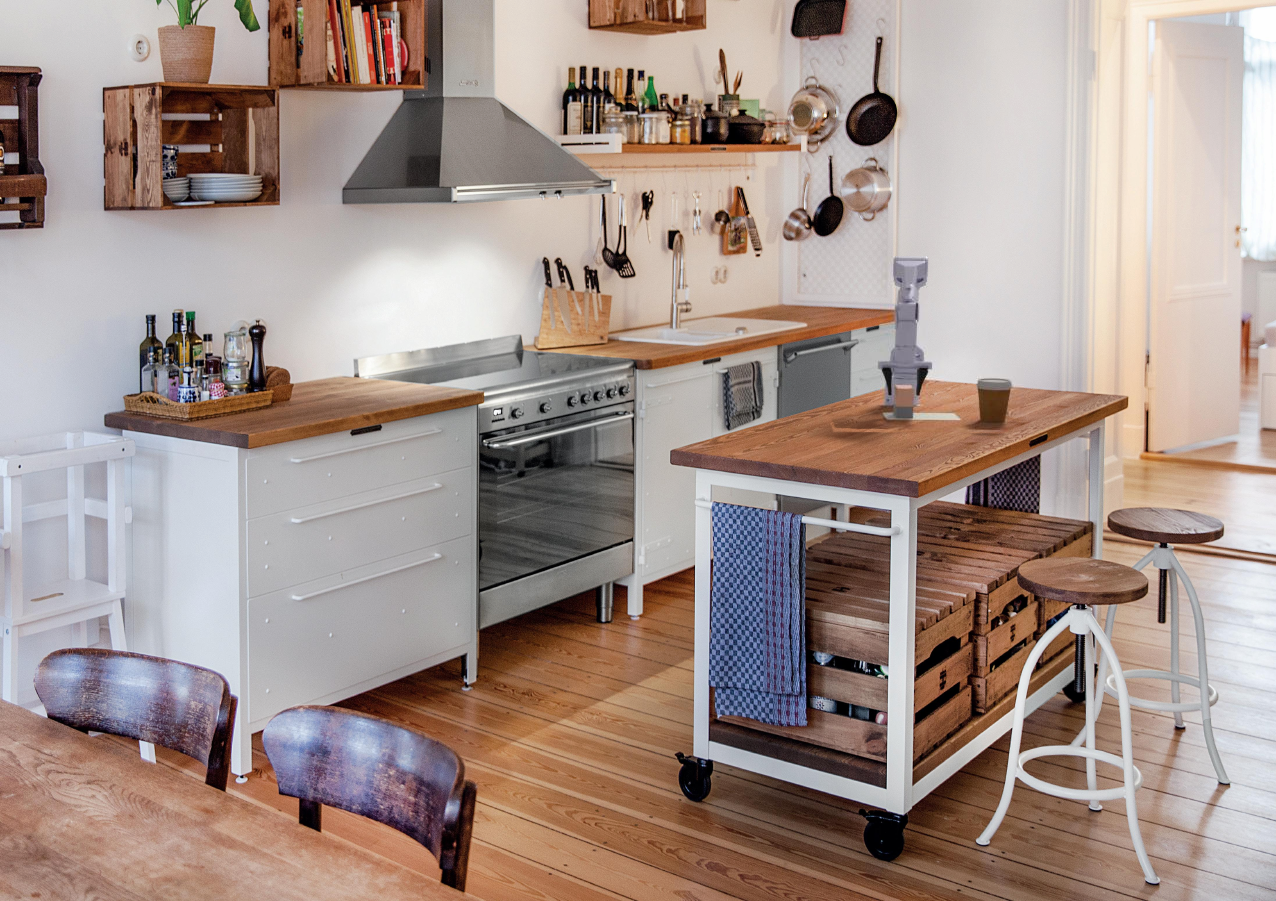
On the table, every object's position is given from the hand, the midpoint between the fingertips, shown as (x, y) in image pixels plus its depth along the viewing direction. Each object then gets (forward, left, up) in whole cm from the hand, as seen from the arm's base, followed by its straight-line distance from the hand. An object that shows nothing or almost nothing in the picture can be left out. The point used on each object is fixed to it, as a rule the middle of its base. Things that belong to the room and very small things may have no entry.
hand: (903, 395), depth 347 cm
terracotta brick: (0, 0, -3) cm, 3 cm away
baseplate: (+4, +4, -7) cm, 9 cm away
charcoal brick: (0, 0, -6) cm, 6 cm away
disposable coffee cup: (+20, +12, -7) cm, 25 cm away
